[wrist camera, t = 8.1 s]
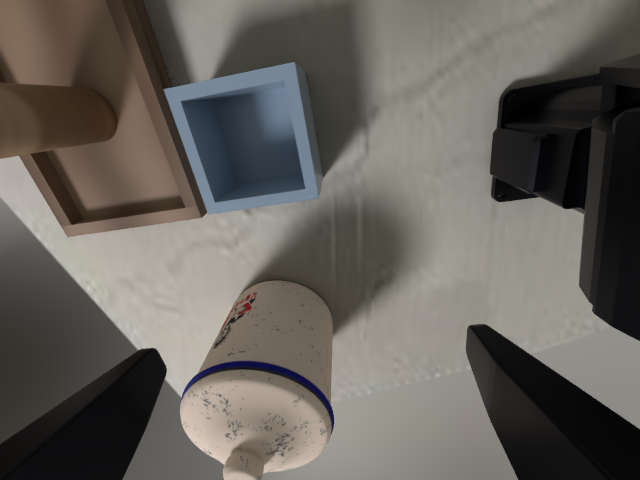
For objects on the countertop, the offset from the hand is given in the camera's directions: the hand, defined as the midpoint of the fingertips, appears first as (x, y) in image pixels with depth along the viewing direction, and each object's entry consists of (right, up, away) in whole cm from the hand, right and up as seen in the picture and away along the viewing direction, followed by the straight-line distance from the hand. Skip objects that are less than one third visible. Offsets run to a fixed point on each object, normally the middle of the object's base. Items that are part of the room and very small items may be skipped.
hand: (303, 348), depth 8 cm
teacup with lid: (-3, -5, +17) cm, 18 cm away
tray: (-13, +11, +10) cm, 20 cm away
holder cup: (-3, +10, +10) cm, 14 cm away
